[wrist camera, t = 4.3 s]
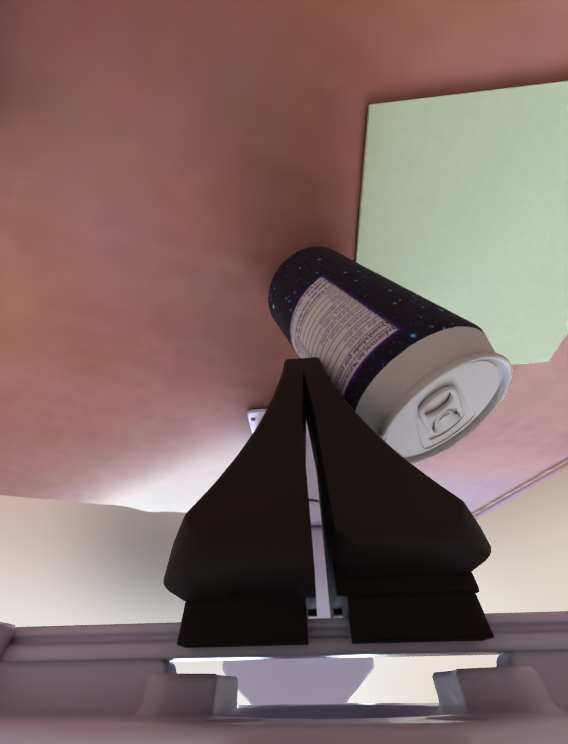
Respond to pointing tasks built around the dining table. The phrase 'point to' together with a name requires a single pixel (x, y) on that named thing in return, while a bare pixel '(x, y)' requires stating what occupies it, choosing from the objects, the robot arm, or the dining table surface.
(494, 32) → the dining table surface
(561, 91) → the mat
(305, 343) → the beverage can
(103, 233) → the dining table surface
